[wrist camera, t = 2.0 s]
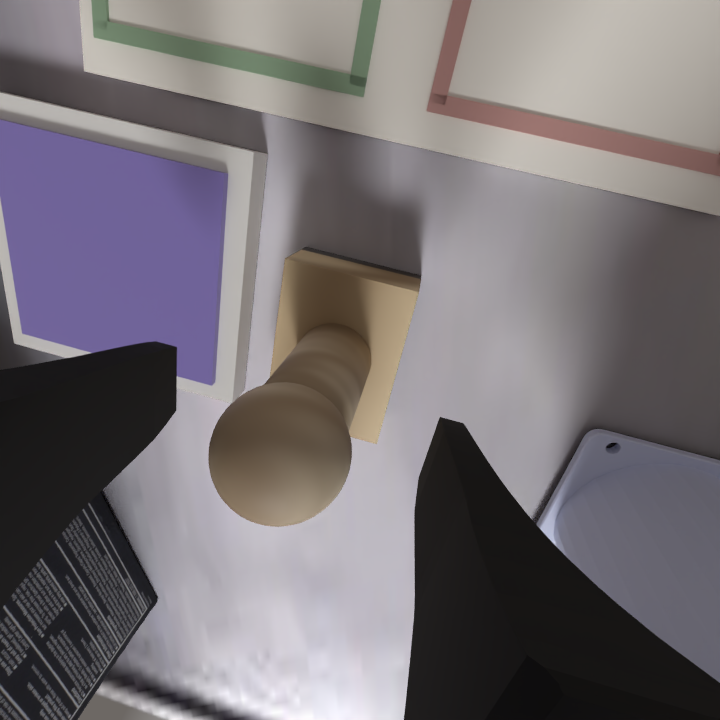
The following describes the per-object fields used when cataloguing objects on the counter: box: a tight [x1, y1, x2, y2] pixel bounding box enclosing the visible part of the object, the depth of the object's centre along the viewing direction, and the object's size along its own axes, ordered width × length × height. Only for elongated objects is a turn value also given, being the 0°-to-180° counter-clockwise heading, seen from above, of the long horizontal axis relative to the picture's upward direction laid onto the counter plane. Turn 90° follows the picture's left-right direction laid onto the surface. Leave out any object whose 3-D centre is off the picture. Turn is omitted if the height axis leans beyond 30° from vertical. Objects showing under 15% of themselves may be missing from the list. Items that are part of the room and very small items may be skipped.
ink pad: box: [0, 91, 268, 404], centre depth 16 cm, size 10×10×2 cm
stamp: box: [209, 247, 421, 527], centre depth 12 cm, size 4×6×9 cm
